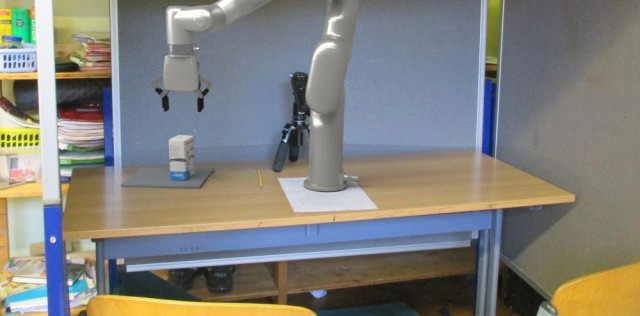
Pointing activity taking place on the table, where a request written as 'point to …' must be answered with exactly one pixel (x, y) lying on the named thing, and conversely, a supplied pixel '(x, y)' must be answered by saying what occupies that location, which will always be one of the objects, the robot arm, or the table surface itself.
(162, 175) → the slate mat
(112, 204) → the table surface
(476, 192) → the table surface
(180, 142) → the ink box
